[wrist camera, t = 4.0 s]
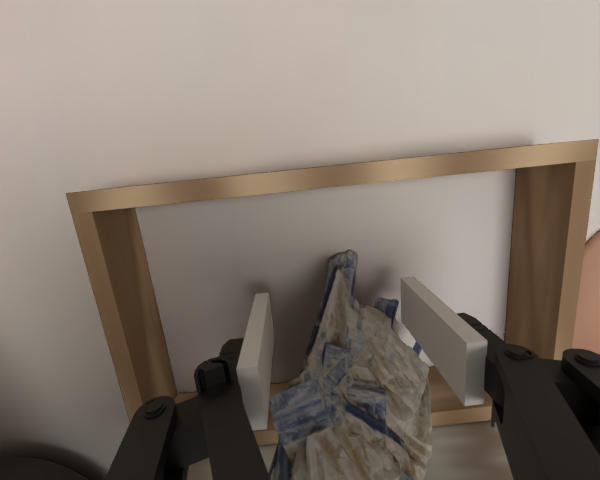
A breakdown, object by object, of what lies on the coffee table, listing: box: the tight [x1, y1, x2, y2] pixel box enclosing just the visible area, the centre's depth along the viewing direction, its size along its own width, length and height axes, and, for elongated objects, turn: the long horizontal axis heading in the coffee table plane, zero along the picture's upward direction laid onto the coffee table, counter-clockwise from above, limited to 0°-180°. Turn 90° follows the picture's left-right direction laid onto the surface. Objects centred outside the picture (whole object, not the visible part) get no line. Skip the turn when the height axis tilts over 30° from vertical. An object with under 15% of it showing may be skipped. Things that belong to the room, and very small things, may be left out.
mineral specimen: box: [268, 250, 433, 480], centre depth 15 cm, size 15×8×4 cm
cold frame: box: [66, 139, 599, 480], centre depth 13 cm, size 26×17×16 cm, turn 96°
